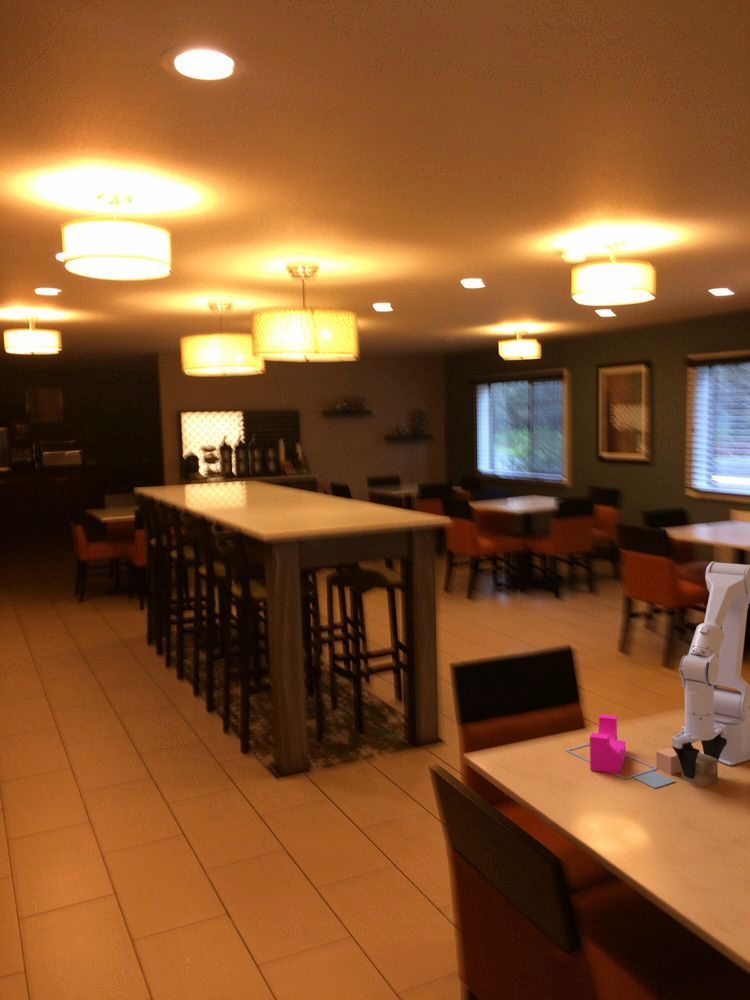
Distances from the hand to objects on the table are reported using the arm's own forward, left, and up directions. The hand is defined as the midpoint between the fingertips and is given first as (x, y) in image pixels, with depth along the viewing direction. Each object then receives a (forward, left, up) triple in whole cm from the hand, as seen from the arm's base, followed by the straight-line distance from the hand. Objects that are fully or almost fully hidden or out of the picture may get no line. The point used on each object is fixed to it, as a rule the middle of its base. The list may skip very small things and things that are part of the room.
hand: (699, 773), depth 167 cm
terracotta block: (+1, -7, -2) cm, 7 cm away
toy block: (+8, -18, -2) cm, 20 cm away
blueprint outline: (+8, -15, -1) cm, 17 cm away
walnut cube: (0, 0, -2) cm, 2 cm away
